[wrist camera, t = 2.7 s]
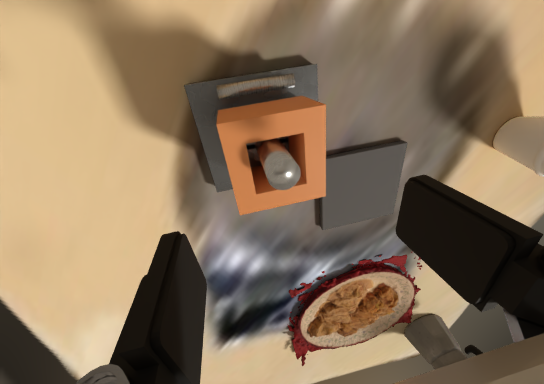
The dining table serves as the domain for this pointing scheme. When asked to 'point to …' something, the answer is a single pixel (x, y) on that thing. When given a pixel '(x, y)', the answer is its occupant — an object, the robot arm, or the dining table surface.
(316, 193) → the orange square tube
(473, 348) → the coffeepot
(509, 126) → the soft serve ice cream cone
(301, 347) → the plate with food
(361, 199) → the mat
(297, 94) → the grey peg stand
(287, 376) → the dining table surface
